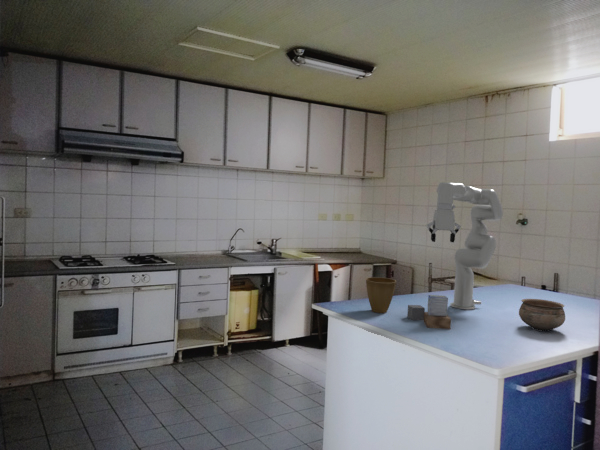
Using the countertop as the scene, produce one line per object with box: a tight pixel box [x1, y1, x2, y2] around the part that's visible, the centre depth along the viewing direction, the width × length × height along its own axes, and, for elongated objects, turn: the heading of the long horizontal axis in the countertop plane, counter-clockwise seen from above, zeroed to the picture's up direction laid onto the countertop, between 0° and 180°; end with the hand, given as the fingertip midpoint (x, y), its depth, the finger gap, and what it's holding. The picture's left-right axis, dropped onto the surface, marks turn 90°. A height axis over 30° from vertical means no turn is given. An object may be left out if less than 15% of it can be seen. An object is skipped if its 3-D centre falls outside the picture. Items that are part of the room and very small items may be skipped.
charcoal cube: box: [406, 304, 426, 322], centre depth 227 cm, size 6×6×6 cm
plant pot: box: [365, 276, 397, 314], centre depth 238 cm, size 15×15×16 cm
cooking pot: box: [518, 298, 566, 332], centre depth 218 cm, size 25×19×12 cm
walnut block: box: [422, 311, 452, 330], centre depth 217 cm, size 10×10×5 cm
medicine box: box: [426, 294, 449, 316], centre depth 217 cm, size 8×4×9 cm, turn 87°
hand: (442, 241), depth 239 cm, fingers open, 9 cm apart
